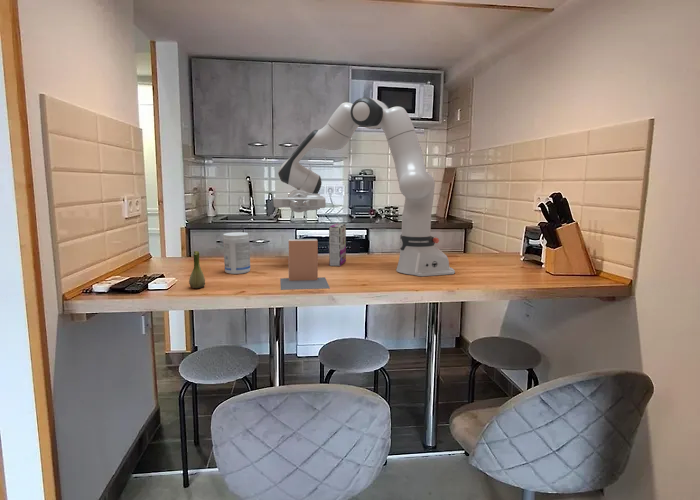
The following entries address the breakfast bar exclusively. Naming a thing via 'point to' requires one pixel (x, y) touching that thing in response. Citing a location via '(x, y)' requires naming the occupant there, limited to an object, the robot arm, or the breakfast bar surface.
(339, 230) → the candy bar box
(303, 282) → the felt mat
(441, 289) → the breakfast bar surface
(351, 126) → the robot arm
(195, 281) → the fennel bulb
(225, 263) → the supplement tub
